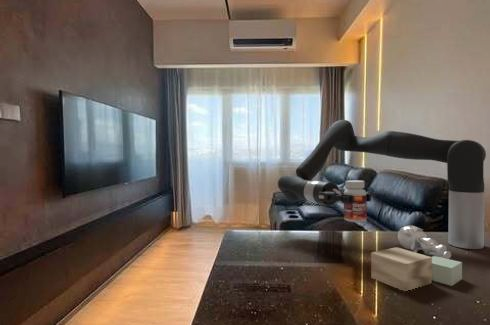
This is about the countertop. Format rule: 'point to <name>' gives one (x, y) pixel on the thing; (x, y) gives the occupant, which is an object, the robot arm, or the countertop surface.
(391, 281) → the oak block
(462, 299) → the countertop surface
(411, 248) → the figurine
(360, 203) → the pill bottle
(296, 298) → the countertop surface
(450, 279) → the sage block
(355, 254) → the countertop surface
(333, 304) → the countertop surface
